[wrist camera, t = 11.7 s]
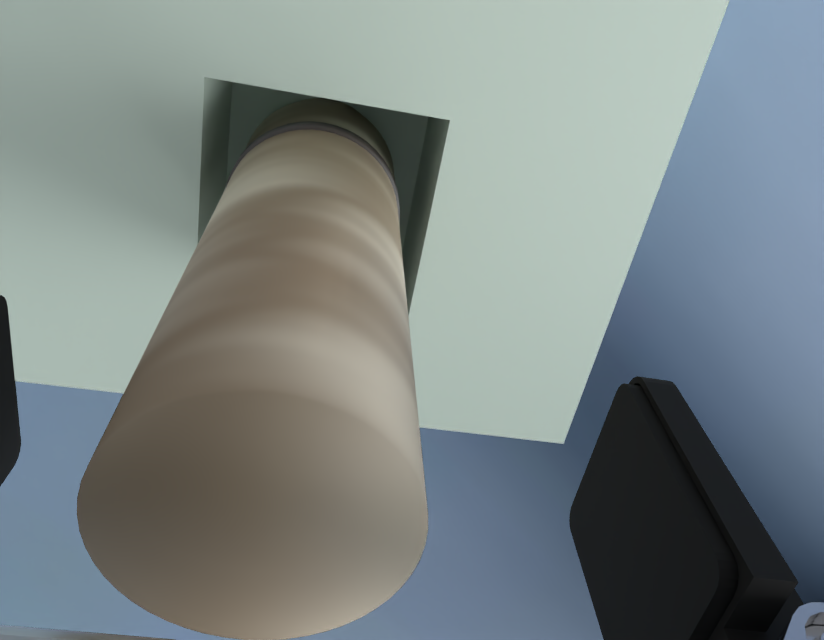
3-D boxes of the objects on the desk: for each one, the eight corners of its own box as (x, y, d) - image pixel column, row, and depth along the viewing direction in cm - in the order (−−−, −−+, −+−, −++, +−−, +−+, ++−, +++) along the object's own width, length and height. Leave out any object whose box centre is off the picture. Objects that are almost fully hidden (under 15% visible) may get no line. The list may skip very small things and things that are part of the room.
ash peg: (405, 98, 20) (466, 411, 8) (381, 234, 22) (399, 652, 10) (255, 71, 19) (62, 363, 7) (244, 214, 21) (80, 630, 9)
